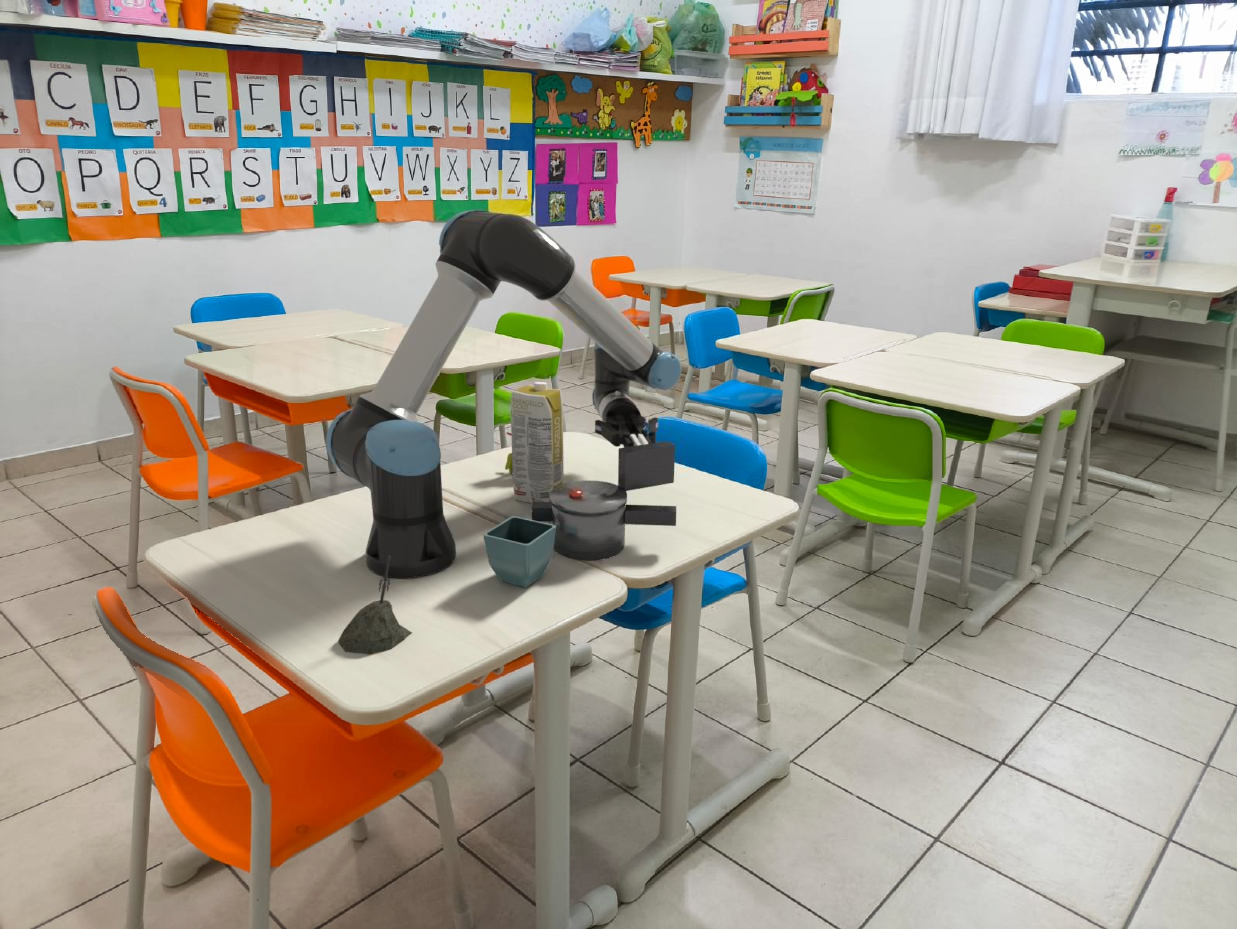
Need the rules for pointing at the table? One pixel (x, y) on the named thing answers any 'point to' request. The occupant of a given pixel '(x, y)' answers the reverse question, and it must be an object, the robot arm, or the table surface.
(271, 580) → the table surface
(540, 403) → the juice carton
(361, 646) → the sword in stone
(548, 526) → the flower pot
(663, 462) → the lid
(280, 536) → the table surface
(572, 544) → the pot
